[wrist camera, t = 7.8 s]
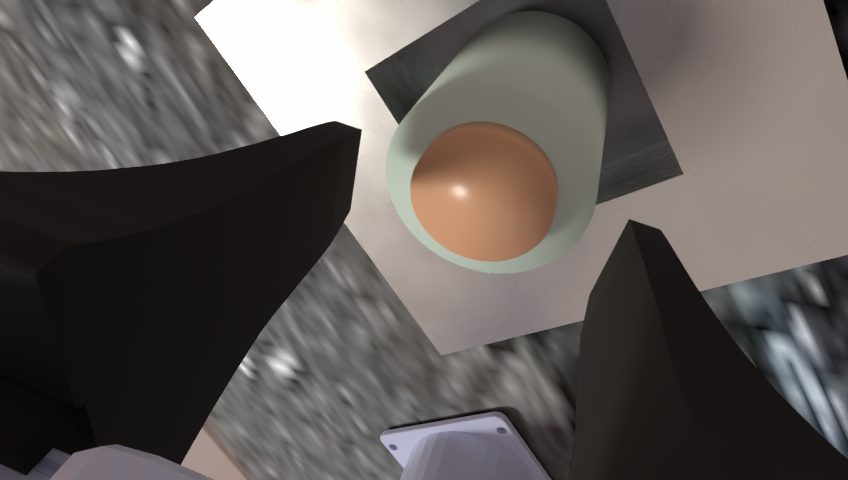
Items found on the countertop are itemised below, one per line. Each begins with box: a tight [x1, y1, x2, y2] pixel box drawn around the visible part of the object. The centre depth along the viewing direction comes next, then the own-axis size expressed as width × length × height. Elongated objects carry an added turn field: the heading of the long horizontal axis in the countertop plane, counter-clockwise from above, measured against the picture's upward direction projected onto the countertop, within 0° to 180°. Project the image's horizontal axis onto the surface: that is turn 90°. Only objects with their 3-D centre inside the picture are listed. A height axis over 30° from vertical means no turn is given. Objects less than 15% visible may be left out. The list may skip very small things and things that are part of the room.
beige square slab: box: [195, 0, 848, 355], centre depth 17 cm, size 14×14×4 cm
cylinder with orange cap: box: [386, 11, 610, 274], centre depth 15 cm, size 5×5×7 cm
